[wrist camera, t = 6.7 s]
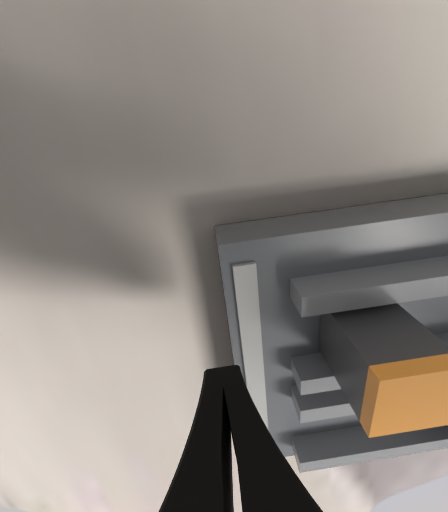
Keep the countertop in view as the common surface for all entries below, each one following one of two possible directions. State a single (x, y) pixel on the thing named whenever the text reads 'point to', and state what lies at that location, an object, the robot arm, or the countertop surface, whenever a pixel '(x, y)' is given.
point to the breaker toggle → (387, 368)
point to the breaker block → (324, 302)
